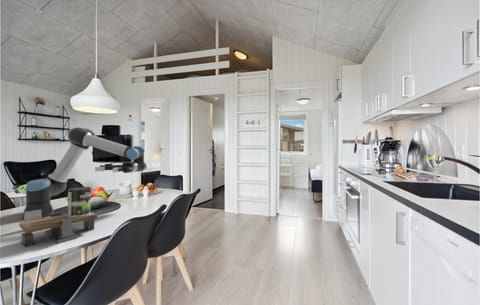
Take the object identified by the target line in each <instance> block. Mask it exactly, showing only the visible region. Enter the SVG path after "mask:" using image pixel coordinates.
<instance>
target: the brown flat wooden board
mask: <svg viewBox="0 0 480 305" xmlns="http://www.w3.org/2000/svg"><path fill="white" fill-rule="evenodd" d="M70 218H72V225H73V224H77V223H82V222H84V221H87V220H92V219H94V220H95V219H98V214H97V213H95V212H92V211H91V213H90V214H88V215H85V216H80V217H69V216H68V213H64V214H61V215H58V216H52V217H51V216H47V217H43V218H41V219H36V220H30V221H25V222H24V221H20V222H19V227H20V228H21V230H22V231H23V232H24V233H25V232H26V233H31V232H32V233H35V232H40V231H46V230H50V229H51V228H54V227H59V226H61V220H65V219H70Z"/></svg>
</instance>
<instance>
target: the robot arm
mask: <svg viewBox="0 0 480 305" xmlns="http://www.w3.org/2000/svg"><path fill="white" fill-rule="evenodd" d="M67 138H68V140H69V143H70V146H69V147H68V149H67V151H66V153H65V154H64V155H63V157H62V158H61V160H60V161H59V162H58V164H57V166H56V168H55V170H53V172H52V173H49V174H48V175H47V177H46V178H39V179H32V180H30V181H27V183H26V187H25V196H26V197H25V203H26V204H25V207H24V210H23V212H22V216H21V217H22V219H23V220H24V214H25V212H28V211H35V210H41V213H42V218H47V217H51V214H53V213H55V212H54V208H53V206H52V203H51V197H53V196H58V195H60V194H61V193H63V192H64V191H65V190H66V189H67V183H68V179H67V178H68V177H69V175H70V173H71V172H72V170H73V168H74V167H75V165H76V163H77V162H78V161H79V159H80V158H81V156H82V154H83V153H84V152H85V151H87V150H89V148H90V147H92V148H96V149H99V150H102V151H105V152H109V153H112V154H115V155H118V156H122V157H125V158H127V159H129V160H132V161H125V162H123V163H122V164H119V165H102V166H96V167H94V171H95V172H105V171H112V173H121V172H122V173H125V174H128V173H129V174H133V173H135V172H136V173H137V172H142V171H145V170H146V169H147V167H148V165H147V163H146V162H145V147H144V146H142V145H139V146H138V145H134V146H133V147H131V146H127V145H125V144H122V143H119V142H115V141H112V140H109V139H106V138H103V137H99V136H97V135H96V133H95V132H94V131H93V130H91V129H89V128H84V127H83V128H82V127H73V128H71V129H70V130H69V131H68V134H67Z"/></svg>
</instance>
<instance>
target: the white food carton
mask: <svg viewBox="0 0 480 305" xmlns="http://www.w3.org/2000/svg"><path fill="white" fill-rule="evenodd" d="M41 218H42V213H41V210H35V211H28V212H25V214H24V219H23V222H25V221H30V220H36V219H41Z"/></svg>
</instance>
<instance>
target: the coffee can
mask: <svg viewBox="0 0 480 305" xmlns="http://www.w3.org/2000/svg"><path fill="white" fill-rule="evenodd" d="M91 204H92V187H91V186H78V187H77V186H76V187H71V188H70V187H69V188H68V189H67V214H68V216H69V217H80V216H85V215H88V214H90V213H91V212H92V210H91V209H92V207H91V206H92V205H91Z"/></svg>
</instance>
